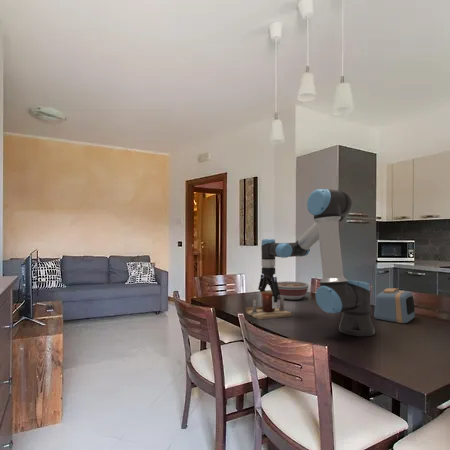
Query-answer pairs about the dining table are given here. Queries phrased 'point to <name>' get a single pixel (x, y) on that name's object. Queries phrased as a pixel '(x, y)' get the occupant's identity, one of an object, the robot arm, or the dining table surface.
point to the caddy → (260, 314)
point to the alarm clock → (394, 306)
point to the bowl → (292, 290)
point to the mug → (267, 301)
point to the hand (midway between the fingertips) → (268, 305)
